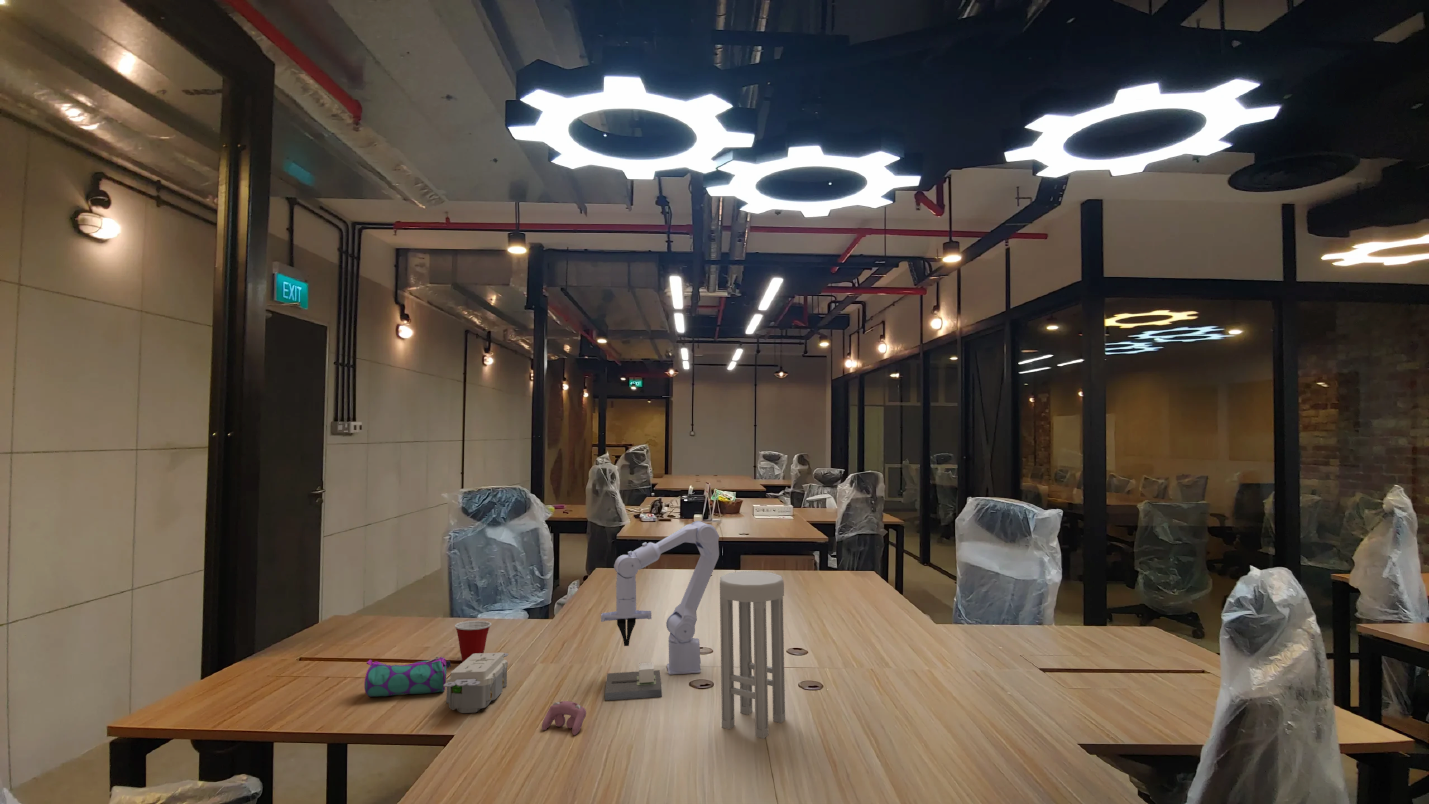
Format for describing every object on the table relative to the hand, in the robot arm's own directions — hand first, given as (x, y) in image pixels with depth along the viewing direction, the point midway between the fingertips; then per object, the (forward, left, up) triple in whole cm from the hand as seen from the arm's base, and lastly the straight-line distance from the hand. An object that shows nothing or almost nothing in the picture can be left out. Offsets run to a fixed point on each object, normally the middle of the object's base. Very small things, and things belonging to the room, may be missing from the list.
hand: (626, 644), depth 184 cm
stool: (-31, +34, -10) cm, 47 cm away
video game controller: (+14, +30, -10) cm, 34 cm away
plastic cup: (+48, -21, -10) cm, 53 cm away
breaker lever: (-6, +8, -7) cm, 12 cm away
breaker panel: (-2, +8, -9) cm, 13 cm away
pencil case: (+60, +1, -10) cm, 61 cm away
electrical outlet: (+39, +8, -10) cm, 41 cm away
